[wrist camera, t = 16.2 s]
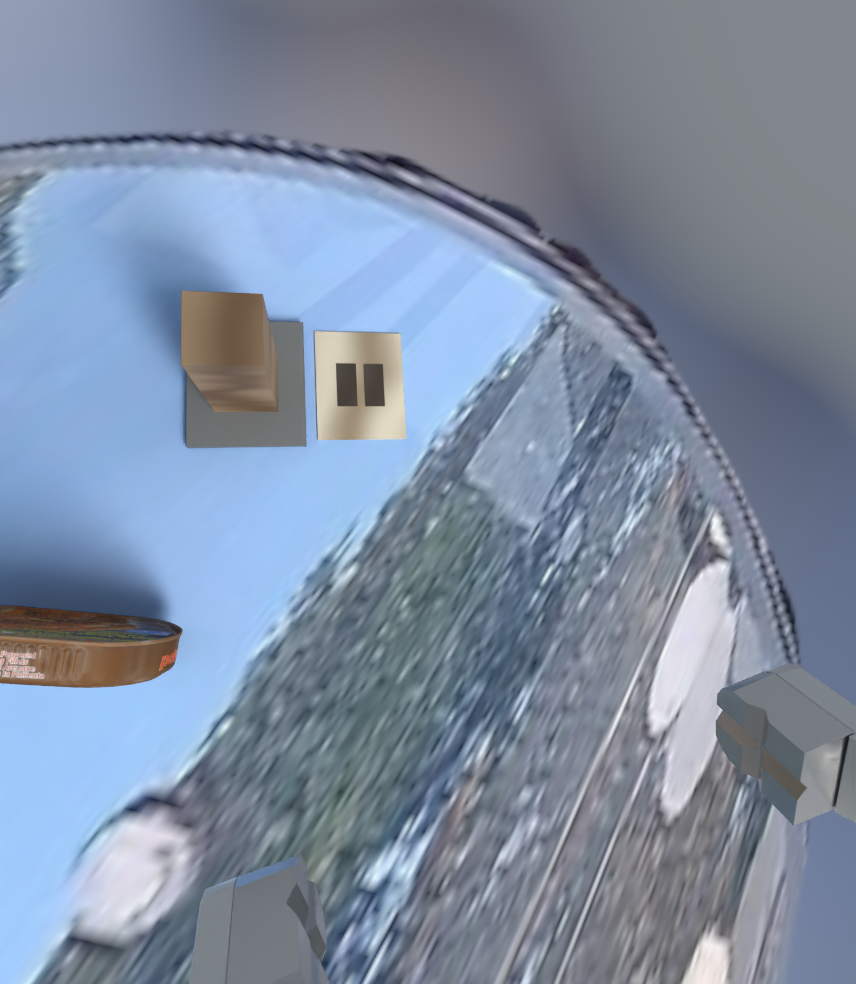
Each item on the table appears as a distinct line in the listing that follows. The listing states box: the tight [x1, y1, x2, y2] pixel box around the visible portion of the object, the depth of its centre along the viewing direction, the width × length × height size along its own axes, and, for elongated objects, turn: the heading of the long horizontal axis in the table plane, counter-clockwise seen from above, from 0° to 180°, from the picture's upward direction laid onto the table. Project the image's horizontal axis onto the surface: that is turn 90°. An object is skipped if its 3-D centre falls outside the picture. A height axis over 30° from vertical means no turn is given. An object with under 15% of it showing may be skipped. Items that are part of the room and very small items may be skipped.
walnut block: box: [181, 291, 278, 412], centre depth 35 cm, size 5×5×9 cm
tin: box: [0, 606, 182, 688], centre depth 31 cm, size 15×3×8 cm, turn 83°
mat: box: [186, 321, 306, 448], centre depth 39 cm, size 9×10×1 cm
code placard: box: [315, 331, 406, 440], centre depth 41 cm, size 7×9×1 cm
